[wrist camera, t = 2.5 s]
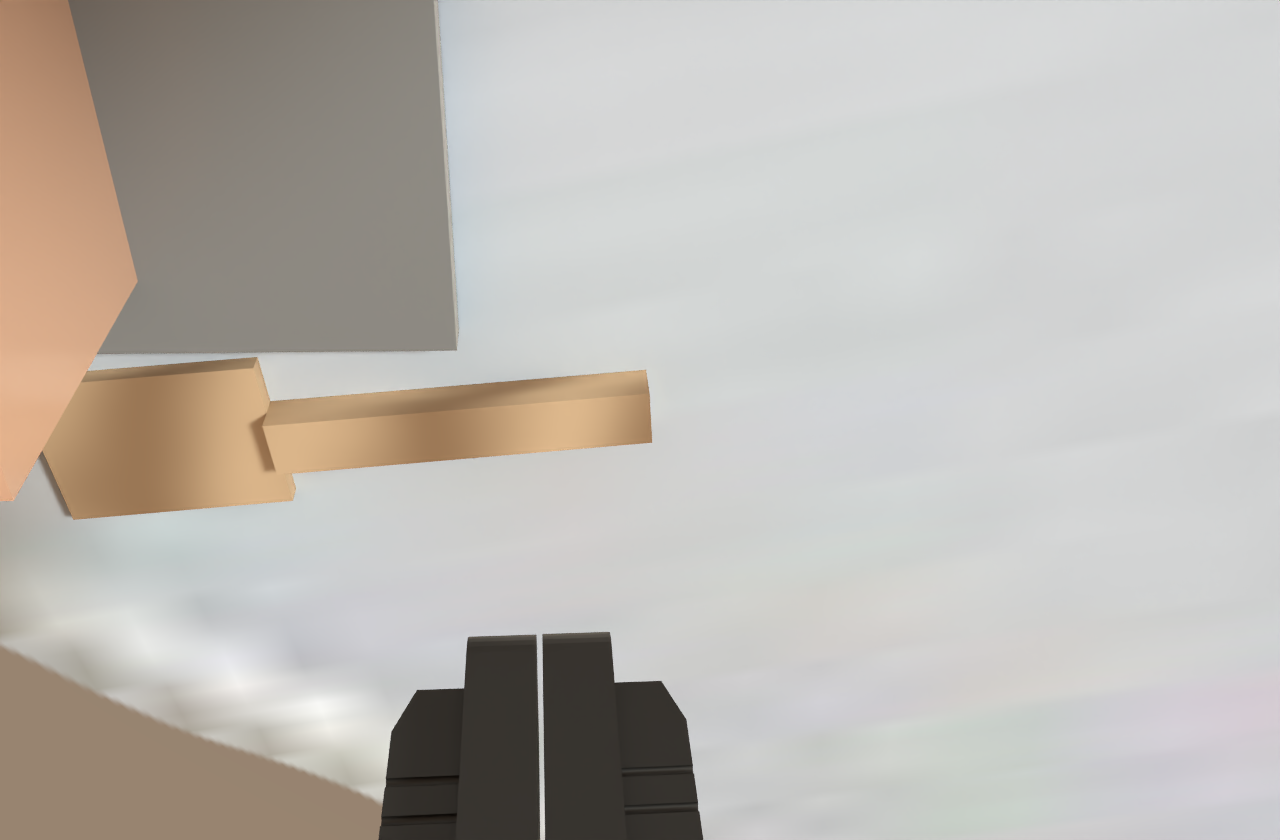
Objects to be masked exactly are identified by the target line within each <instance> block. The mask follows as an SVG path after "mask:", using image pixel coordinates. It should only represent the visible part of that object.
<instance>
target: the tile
mask: <svg viewBox="0 0 1280 840" xmlns="http://www.w3.org/2000/svg"><path fill="white" fill-rule="evenodd" d="M137 282H138V280H137V276H136V272H135V268H134V264H133V260H132V256H131V252H130V248H129V244H128V240H127V236H126V232H125V228H124V224H123V220H122V216H121V212H120V208H119V204H118V200H117V196H116V192H115V187H114V183H113V179H112V175H111V171H110V167H109V163H108V159H107V155H106V151H105V147H104V143H103V139H102V135H101V131H100V127H99V123H98V119H97V115H96V111H95V107H94V103H93V99H92V95H91V91H90V87H89V83H88V79H87V75H86V71H85V67H84V63H83V59H82V55H81V51H80V47H79V43H78V39H77V35H76V31H75V26H74V22H73V18H72V14H71V10H70V6H69V2H68V0H0V501H14V499H15V497H16V496H17V494H18V492H19V490H20V489H21V487H22V485H23V483H24V481H25V480H26V478H27V476H28V474H29V473H30V471H31V469H32V467H33V466H34V464H35V462H36V460H37V458H38V457H39V455H40V453H41V451H42V450H43V448H44V446H45V444H46V443H47V441H48V439H49V437H50V435H51V434H52V432H53V430H54V428H55V427H56V425H57V423H58V421H59V420H60V418H61V416H62V414H63V413H64V411H65V409H66V407H67V405H68V404H69V402H70V400H71V398H72V397H73V395H74V393H75V391H76V390H77V388H78V386H79V384H80V382H81V381H82V379H83V377H84V375H85V374H86V372H87V370H88V368H89V367H90V365H91V363H92V361H93V359H94V358H95V356H96V354H97V352H98V351H99V349H100V347H101V345H102V344H103V342H104V340H105V338H106V337H107V335H108V333H109V331H110V329H111V328H112V326H113V324H114V322H115V321H116V319H117V317H118V315H119V314H120V312H121V310H122V308H123V306H124V305H125V303H126V301H127V299H128V298H129V296H130V294H131V292H132V291H133V289H134V287H135V285H136V284H137Z"/></svg>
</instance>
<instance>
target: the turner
mask: <svg viewBox="0 0 1280 840" xmlns="http://www.w3.org/2000/svg"><path fill="white" fill-rule="evenodd" d="M641 443H652V432H651V414H650V395H649V387H648V381H647V374H646V370H639V371H627V372H615V373H603V374H591V375H579V376H567V377H555V378H543V379H532V380H520V381H508V382H496V383H484V384H472V385H460V386H448V387H436V388H424V389H412V390H400V391H388V392H376V393H364V394H352V395H341V396H329V397H317V398H305V399H293V400H281V401H270V398H269V395H268V392H267V388H266V385H265V381H264V378H263V375H262V371H261V368H260V364H259V361H258V358H257V357H253V358H241V359H229V360H217V361H204V362H192V363H180V364H168V365H156V366H144V367H132V368H120V369H107V370H95V371H87V372H86V374H85V375H84V377H83V379H82V381H81V382H80V384H79V386H78V388H77V390H76V391H75V393H74V395H73V397H72V398H71V400H70V402H69V404H68V405H67V407H66V409H65V411H64V413H63V414H62V416H61V418H60V420H59V421H58V423H57V425H56V427H55V428H54V430H53V432H52V434H51V435H50V437H49V439H48V441H47V443H46V444H45V446H44V448H43V450H42V451H43V453H44V455H45V458H46V460H47V462H48V464H49V467H50V469H51V471H52V473H53V475H54V478H55V480H56V482H57V484H58V487H59V489H60V491H61V493H62V495H63V498H64V500H65V502H66V504H67V507H68V509H69V511H70V513H71V515H72V518H73V520H75V519H87V518H99V517H110V516H122V515H133V514H145V513H156V512H168V511H179V510H191V509H202V508H214V507H225V506H237V505H248V504H260V503H271V502H283V501H293V498H294V494H295V490H296V487H295V483H294V480H293V477H292V473H303V472H315V471H327V470H338V469H350V468H362V467H373V466H385V465H396V464H408V463H420V462H431V461H443V460H455V459H466V458H478V457H489V456H501V455H513V454H524V453H536V452H548V451H559V450H571V449H583V448H594V447H606V446H617V445H629V444H641Z"/></svg>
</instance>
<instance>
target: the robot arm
mask: <svg viewBox="0 0 1280 840" xmlns="http://www.w3.org/2000/svg"><path fill="white" fill-rule="evenodd" d="M543 706H544V779H545V840H703V835H702V828H701V821H700V814H699V811H698V799H697V792H696V785H695V778H694V774H693V764H692V757H691V750H690V742H689V735H688V728H687V721H686V718H685V717H684V715H683V714H682V712H681V711H680V709H679V708H678V706H677V705H676V703H675V702H674V700H673V699H672V697H671V696H670V694H669V692H668V691H667V689H666V688H665V686H664V685H663V683H662V682H661V681H648V682H620V683H614V670H613V658H612V645H611V636H610V632H593V633H562V634H543ZM381 817H382V823H381V826H380V832H379V840H540V788H539V723H538V680H537V638H536V635H511V636H480V637H468V641H467V653H466V670H465V687H464V689H436V690H417V691H416V693H415V694H414V696H413V698H412V699H411V701H410V703H409V704H408V706H407V707H406V709H405V711H404V712H403V714H402V716H401V717H400V719H399V720H398V722H397V724H396V725H395V727H394V729H393V730H392V733H391V741H390V749H389V758H388V766H387V774H386V787H385V791H384V799H383V807H382V816H381Z"/></svg>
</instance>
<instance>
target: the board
mask: <svg viewBox="0 0 1280 840" xmlns="http://www.w3.org/2000/svg"><path fill="white" fill-rule="evenodd" d="M68 2H69V6H70V10H71V14H72V18H73V22H74V26H75V31H76V35H77V39H78V43H79V47H80V51H81V55H82V59H83V63H84V67H85V71H86V75H87V79H88V83H89V87H90V91H91V95H92V99H93V103H94V107H95V111H96V115H97V119H98V123H99V127H100V131H101V135H102V139H103V143H104V147H105V151H106V155H107V159H108V163H109V167H110V171H111V175H112V179H113V183H114V187H115V192H116V196H117V200H118V204H119V208H120V212H121V216H122V220H123V224H124V228H125V232H126V236H127V240H128V244H129V248H130V252H131V256H132V260H133V264H134V268H135V272H136V276H137V280H138V282H137V284H136V285H135V287H134V289H133V291H132V292H131V294H130V296H129V298H128V299H127V301H126V303H125V305H124V306H123V308H122V310H121V312H120V314H119V315H118V317H117V319H116V321H115V322H114V324H113V326H112V328H111V329H110V331H109V333H108V335H107V337H106V338H105V340H104V342H103V344H102V345H101V347H100V349H99V351H98V352H97V354H121V353H230V352H339V351H448V350H457V343H458V333H459V324H458V308H457V293H456V277H455V261H454V246H453V230H452V214H451V199H450V183H449V167H448V152H447V136H446V121H445V105H444V89H443V74H442V58H441V42H440V27H439V11H438V0H68Z"/></svg>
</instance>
